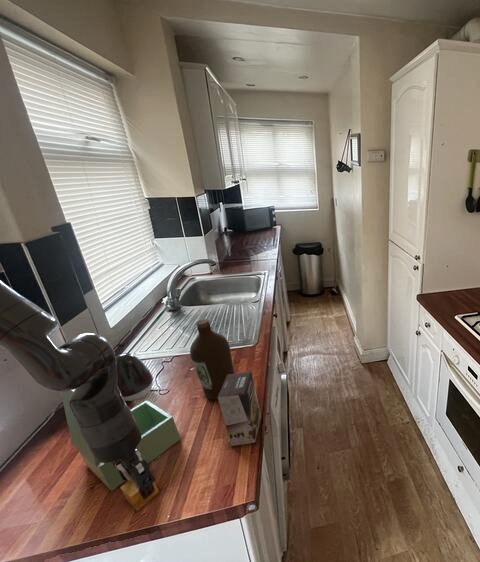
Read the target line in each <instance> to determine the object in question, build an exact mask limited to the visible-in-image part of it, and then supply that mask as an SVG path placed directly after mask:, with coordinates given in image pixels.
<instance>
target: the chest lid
mask: <svg viewBox="0 0 480 562" xmlns="http://www.w3.org/2000/svg"><path fill="white" fill-rule="evenodd" d="M74 390H75V389H74ZM74 390H70V391H60V394H61V395H60V396H61V399H62V405H63V409H64V414H65V418H66V423H67V427H68V432H69V433H68V434H69V436H70V437H69V438H70V442H71V444H72V445H73V446H74V447H75V448H76V449H77V451H78V452H79V451H80V452H81V453H82V454H83V455H84V456H85V457H86V458H87V459H88V460H89V461H90V462H92V463H93V464H94V465H95V466H96V467H97V466H98V465H100V462H98V461H96V459H95V458H94V456H93V454H92V452H91V450H90V449H89V447H88V445H87V443H86V441H85V440H84V438H83V436H82V433H81V430H80V427H79V424H78V423H77V421H76V419H75V417H74V415H73V413H72V412H71V410H70V407H69V398H70V396H71V395H72V393H73V392H74ZM80 452H79V453H80Z"/></svg>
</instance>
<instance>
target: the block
mask: <svg viewBox="0 0 480 562" xmlns="http://www.w3.org/2000/svg"><path fill="white" fill-rule="evenodd" d="M152 484H153V486H154V488H155V491H154V493H153V494H151V495H150V496H149V497H148V498H147V499H143V498H142V496H141V494H140V492H139V490H138V488H136V487H135V484H134V483H133V481H132V480H131V481H128V480H127V481H126V482H124V483H123V485H120V490H121V492H122V493H123V495H124V498H125V499H126V501H127V502H128V503H129V504H130V505H131V506H132V508H134V509H135V510H136V512H138V511H139V510H140V509H142V508H143V507H144V506H145V505H146V504H148V502H150V501H151V500H152V499H153V498H155V497H156V496H157V495H158V494H159V493H160V491H159V489H158V487H157V484H156V481H154V482H153V483H152Z"/></svg>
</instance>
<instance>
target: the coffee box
mask: <svg viewBox="0 0 480 562" xmlns="http://www.w3.org/2000/svg"><path fill="white" fill-rule="evenodd" d="M234 373H235V372H234ZM217 400H218V404H219V407H220V411H221V415H222V418H223V422H224V426H225V429H226V434H227V436H228V440H229V443H230V446H231V447H235V446H242V445H247V444H254V443H255V444H256V442H257V437H258V433H259V428H260V424H261V420H262V413H261V408H260V404H259V403H260V402H259V400H258V395H257V391H256V385H255V382H254V378H253V373H252V371H251V370H248V371H241V372H236V373H235V374H228V375H227V377H226V379H225V381H224V384H223V386H222V388H221V391H220V393H219V395H218V399H217Z"/></svg>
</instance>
